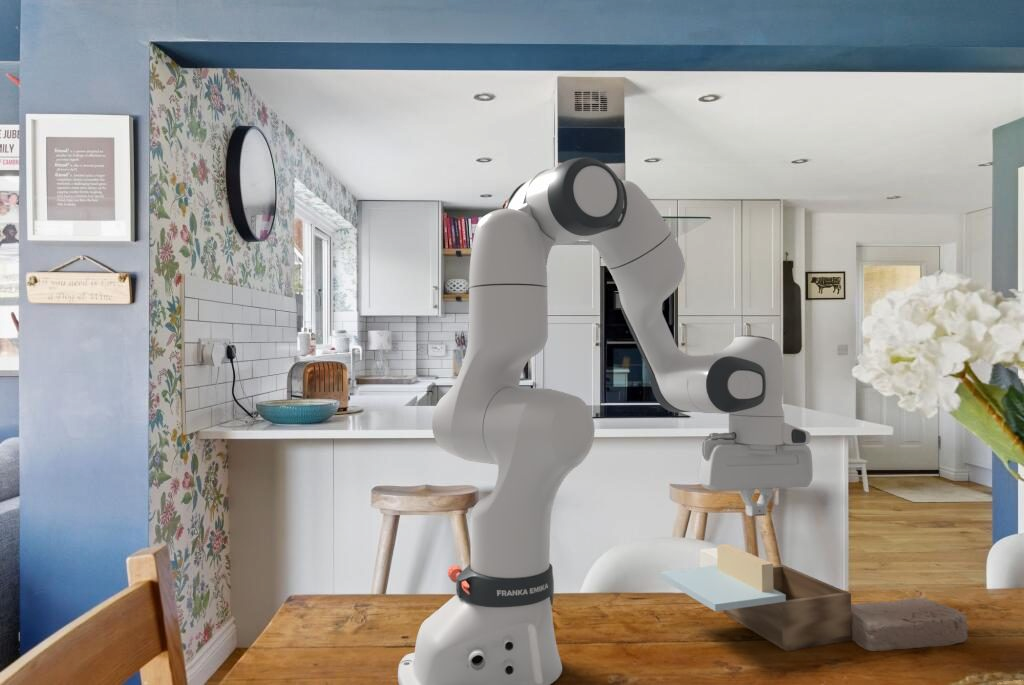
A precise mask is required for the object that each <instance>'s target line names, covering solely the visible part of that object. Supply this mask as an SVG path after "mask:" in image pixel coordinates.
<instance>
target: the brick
mask: <svg viewBox="0 0 1024 685" xmlns="http://www.w3.org/2000/svg"><path fill="white" fill-rule="evenodd" d="M851 627H852V640H851V641H854V642H855V644H857V645H858V646H860V647H861V648H863V649H864V650H866V651H870V652H880V651H881V652H883V651H884V652H885V651H891V650H899V649H900V650H903V649H904V650H906V649H914V648H916V649H919V648H927V647H943V646H951V645H955V644H960V643H964V642H965V641H966V640H967V638H968V628H969V626H968V617H967V616H966V615H965V613H962V612H961V611H960V610H957V609H956V608H952V607H951V606H947V605H946V604H944V603H940V602H938V601H934V600H931V599H929V598H928V597H913V598H903V599H898V600H894V601H887V602H886V601H882V602H879V601H878V602H857V603H851Z"/></svg>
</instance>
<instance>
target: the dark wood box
mask: <svg viewBox="0 0 1024 685" xmlns="http://www.w3.org/2000/svg"><path fill="white" fill-rule="evenodd" d="M773 589H775V590H777V591H779V592H781V593H783V594H785V595H786V602H779V603H772V604H765V605H758V606H751V607H744V608H737V609H730V610H723V614H724V615H725V614H726V615H725V616H728V618H730V619H732V620H733V621H735V622H737V623H739V624H741V625H742V626H744V627H745V628H747V629H749V630H750V631H751V632H753V633H756V634H757V635H759V636H761V637H762V638H763V639H765V640H767V641H769V642H770V643H772V644H774V645H776V646H777V647H779V648H780V649H782V650H784V651H785V652H789V651H796V650H802V649H807V648H813V647H819V646H826V645H832V644H837V643H843V642H849V641H853V640H852V627H851V604H852V594H851V593H850V592H848V591H846V590H843V589H840V588H839V587H836V586H833V585H832V584H830V583H827V582H824V581H822V580H819V579H817V578H815V577H813V576H810V575H808V574H805V573H803V572H801V571H798V570H796V569H793V568H792V567H789V566H787V565H785V564H776V565H775V564H774V565H773Z"/></svg>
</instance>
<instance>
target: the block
mask: <svg viewBox="0 0 1024 685" xmlns="http://www.w3.org/2000/svg"><path fill="white" fill-rule="evenodd" d="M715 565H718V552H717V547H715V548H714V547H713V548H704V549H703V548H702V549H699V567H707V566H715Z"/></svg>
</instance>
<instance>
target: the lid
mask: <svg viewBox="0 0 1024 685" xmlns="http://www.w3.org/2000/svg"><path fill="white" fill-rule="evenodd" d="M716 548H717V552H718V565H715V566H707V567H700V566H698V567H691V568H685V569H684V568H683V569H674V570H664V571H660V572H659V573H660V574H659V576H660V577H659V578H660V579H661V580H662V581H664V582H666V583H667V584H669V585H671V586H673V587H674V588H676V589H677V590H679V591H681V592H682V593H684V594H685V595H687V596H689V597H690V598H692V599H694V600H695V601H697V602H699V603H700V604H702V605H704V606H705V607H707V608H709V609H710V610H712V611H714V612H721V611H723V612H724V610H730V609H737V608H744V607H751V606H758V605H765V604H772V603H779V602H786V595H785V594H783V593H781V592H779V591H777V590H775V589H773V566H774V563H772V562H771V561H768V560H765V559H763V558H761V557H759V556H756V555H754V554H752V553H749V552H747V551H744V550H743V549H740V548H738V547H735V546H733V545H732V544H731V545H730V544H728V543H725V544H717V546H716Z"/></svg>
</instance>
